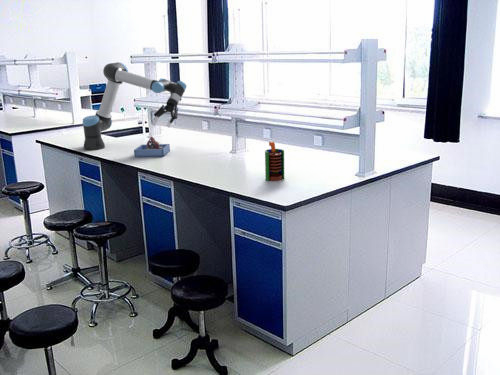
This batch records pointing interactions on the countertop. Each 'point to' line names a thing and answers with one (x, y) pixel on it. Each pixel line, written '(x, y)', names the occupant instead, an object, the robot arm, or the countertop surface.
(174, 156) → the countertop surface
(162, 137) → the countertop surface
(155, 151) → the parts bin
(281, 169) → the motor
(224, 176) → the countertop surface
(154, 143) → the brake caliper
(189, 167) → the countertop surface
